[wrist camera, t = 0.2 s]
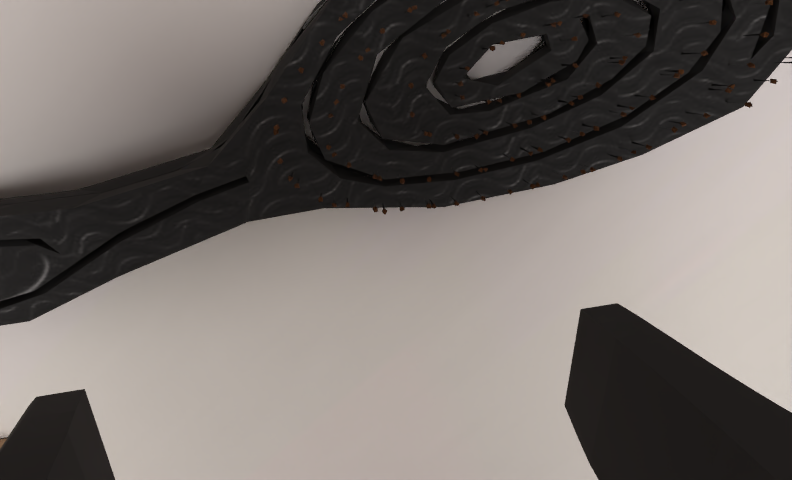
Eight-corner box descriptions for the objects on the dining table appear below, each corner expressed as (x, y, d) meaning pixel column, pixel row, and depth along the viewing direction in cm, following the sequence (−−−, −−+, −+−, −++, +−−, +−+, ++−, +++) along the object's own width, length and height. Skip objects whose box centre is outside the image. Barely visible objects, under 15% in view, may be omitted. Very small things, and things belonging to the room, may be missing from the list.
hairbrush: (-340, 220, 14) (864, -209, 14) (-238, 139, 17) (752, -215, 17) (-66, 465, 19) (831, 151, 19) (-24, 368, 22) (748, 96, 22)
